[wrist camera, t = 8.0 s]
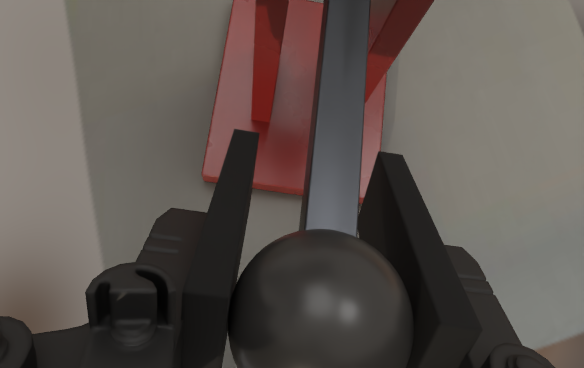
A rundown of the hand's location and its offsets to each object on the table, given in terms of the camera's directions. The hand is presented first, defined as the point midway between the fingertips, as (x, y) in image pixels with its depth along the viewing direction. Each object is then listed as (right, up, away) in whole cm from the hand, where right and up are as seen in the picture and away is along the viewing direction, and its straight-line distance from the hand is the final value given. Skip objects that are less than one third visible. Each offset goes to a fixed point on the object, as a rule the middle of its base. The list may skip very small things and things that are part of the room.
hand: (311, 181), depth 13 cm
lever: (0, +2, -1) cm, 2 cm away
